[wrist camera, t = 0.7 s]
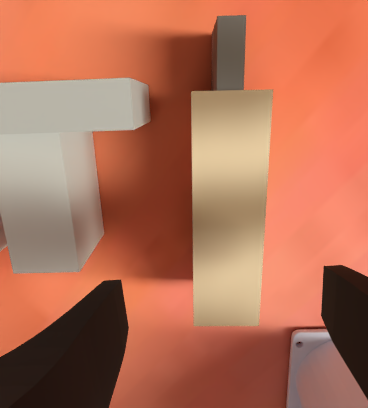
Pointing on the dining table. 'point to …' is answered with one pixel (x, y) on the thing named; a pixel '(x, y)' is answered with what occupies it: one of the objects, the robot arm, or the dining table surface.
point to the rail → (229, 185)
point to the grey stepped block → (58, 166)
